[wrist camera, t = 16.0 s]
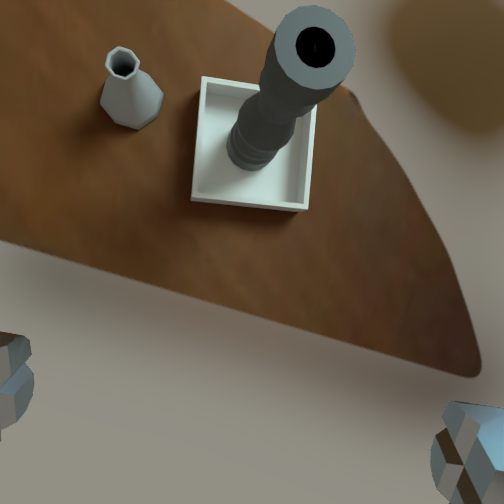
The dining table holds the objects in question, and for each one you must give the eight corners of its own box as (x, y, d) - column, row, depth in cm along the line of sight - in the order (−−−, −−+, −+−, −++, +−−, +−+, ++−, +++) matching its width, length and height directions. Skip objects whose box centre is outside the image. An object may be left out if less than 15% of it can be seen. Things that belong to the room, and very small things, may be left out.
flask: (141, 141, 51) (133, 115, 41) (88, 105, 49) (67, 70, 40) (174, 93, 51) (174, 56, 41) (123, 57, 50) (110, 10, 40)
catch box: (190, 200, 52) (191, 196, 48) (200, 89, 52) (202, 76, 48) (298, 212, 54) (308, 209, 50) (307, 105, 54) (317, 94, 50)
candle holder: (225, 121, 52) (269, -3, 27) (273, 123, 53) (357, 5, 28) (226, 170, 52) (271, 91, 27) (275, 171, 53) (360, 95, 28)
